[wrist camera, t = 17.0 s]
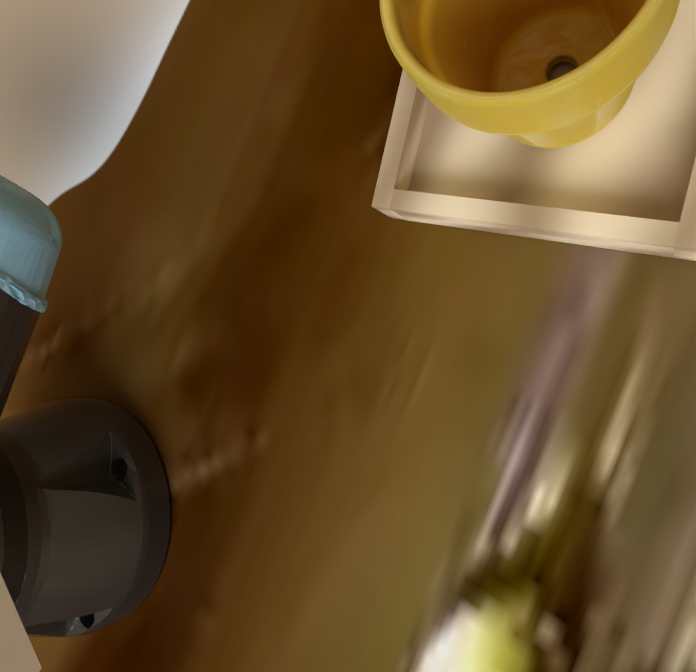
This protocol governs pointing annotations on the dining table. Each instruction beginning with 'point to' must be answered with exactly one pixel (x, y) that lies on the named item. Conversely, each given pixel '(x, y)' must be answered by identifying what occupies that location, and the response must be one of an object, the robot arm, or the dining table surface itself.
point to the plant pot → (527, 60)
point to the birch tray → (560, 166)
